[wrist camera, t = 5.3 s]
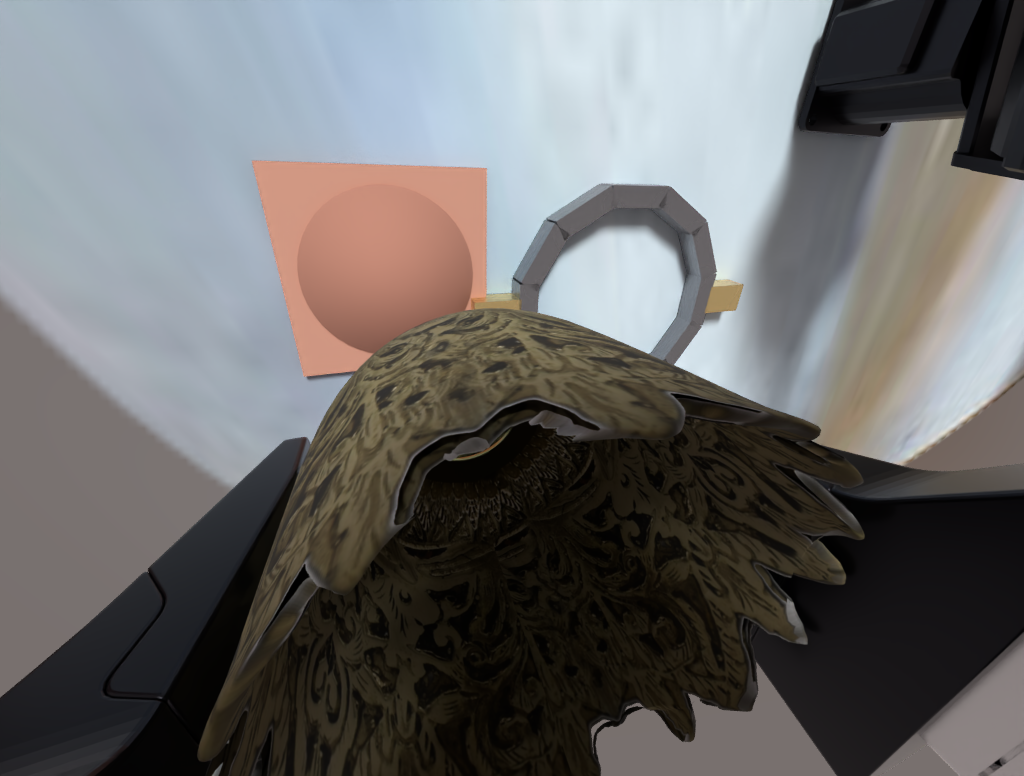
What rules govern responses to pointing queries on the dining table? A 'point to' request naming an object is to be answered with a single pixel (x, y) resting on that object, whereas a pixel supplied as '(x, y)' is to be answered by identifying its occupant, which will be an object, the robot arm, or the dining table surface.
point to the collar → (553, 234)
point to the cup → (520, 558)
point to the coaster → (371, 251)
